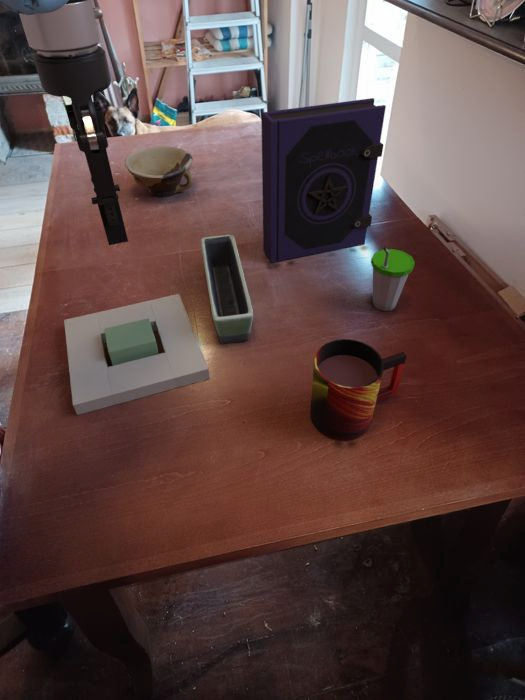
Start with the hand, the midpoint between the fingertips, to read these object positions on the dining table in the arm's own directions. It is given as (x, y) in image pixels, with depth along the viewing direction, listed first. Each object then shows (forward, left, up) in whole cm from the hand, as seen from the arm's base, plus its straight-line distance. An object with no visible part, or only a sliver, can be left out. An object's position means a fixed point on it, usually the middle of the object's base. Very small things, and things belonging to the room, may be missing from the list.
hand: (117, 240), depth 68 cm
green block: (-2, +3, -24) cm, 25 cm away
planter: (+18, +11, -25) cm, 32 cm away
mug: (+28, -22, -25) cm, 43 cm away
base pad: (-2, +3, -24) cm, 25 cm away
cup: (+47, -1, -25) cm, 53 cm away
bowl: (+16, +64, -25) cm, 70 cm away
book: (+43, +23, -25) cm, 55 cm away
